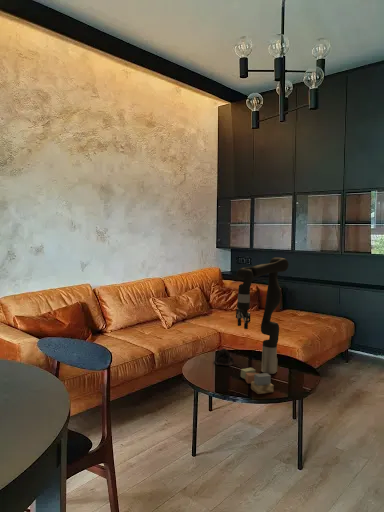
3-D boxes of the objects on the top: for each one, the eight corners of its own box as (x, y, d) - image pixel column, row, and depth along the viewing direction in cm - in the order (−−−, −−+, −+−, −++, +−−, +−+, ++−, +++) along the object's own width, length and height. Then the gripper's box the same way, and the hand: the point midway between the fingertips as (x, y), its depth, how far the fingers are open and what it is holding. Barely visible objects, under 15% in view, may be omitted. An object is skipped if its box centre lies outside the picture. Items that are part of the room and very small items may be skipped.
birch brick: (265, 386, 229) (266, 380, 229) (273, 392, 222) (273, 385, 222) (250, 388, 226) (251, 381, 226) (257, 394, 218) (258, 387, 218)
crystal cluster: (226, 368, 260) (229, 354, 260) (210, 362, 269) (212, 348, 268) (236, 365, 271) (238, 351, 271) (220, 359, 279) (222, 346, 279)
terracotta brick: (258, 380, 239) (258, 372, 239) (260, 383, 235) (260, 375, 235) (245, 380, 238) (245, 372, 238) (247, 383, 234) (248, 375, 233)
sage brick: (250, 375, 248) (251, 367, 248) (255, 377, 244) (255, 369, 244) (240, 377, 244) (240, 369, 244) (245, 379, 240) (245, 371, 240)
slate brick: (266, 381, 227) (266, 372, 227) (270, 384, 223) (270, 375, 223) (254, 382, 224) (254, 374, 224) (258, 385, 220) (258, 376, 220)
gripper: (254, 303, 233) (253, 329, 234) (243, 299, 247) (242, 324, 248) (243, 303, 231) (242, 330, 232) (232, 299, 244) (231, 325, 245)
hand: (242, 327), depth 240 cm, fingers open, 8 cm apart
